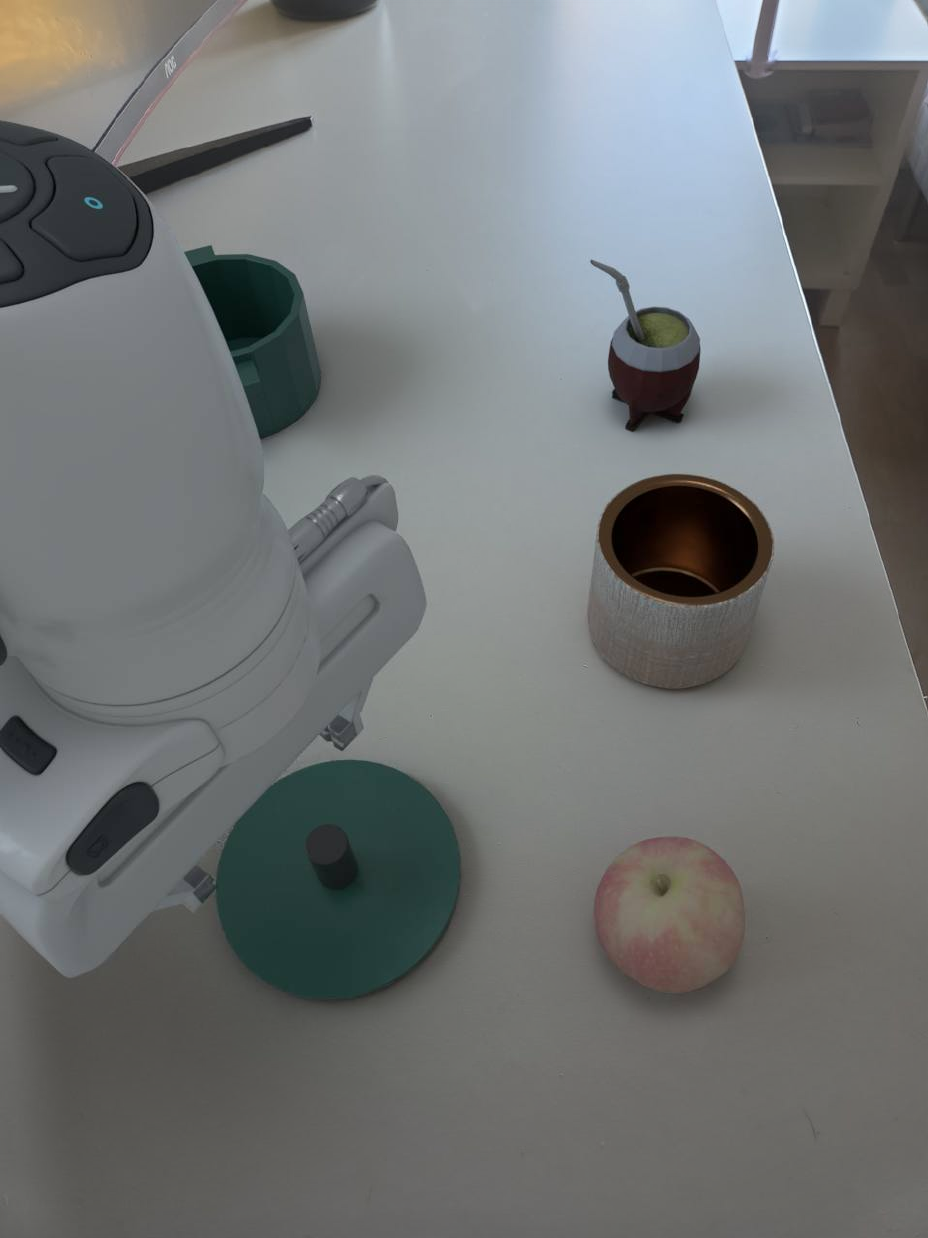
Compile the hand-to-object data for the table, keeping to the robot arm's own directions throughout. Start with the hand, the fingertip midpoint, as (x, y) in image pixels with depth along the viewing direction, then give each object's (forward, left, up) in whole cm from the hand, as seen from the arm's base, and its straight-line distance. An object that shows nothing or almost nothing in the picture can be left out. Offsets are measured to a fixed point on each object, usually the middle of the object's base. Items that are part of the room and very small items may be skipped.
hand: (271, 808), depth 43 cm
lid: (+1, +2, -15) cm, 15 cm away
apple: (+17, -8, -16) cm, 25 cm away
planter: (+27, +11, -16) cm, 33 cm away
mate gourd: (+35, +31, -16) cm, 50 cm away
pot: (+5, +47, -15) cm, 50 cm away
